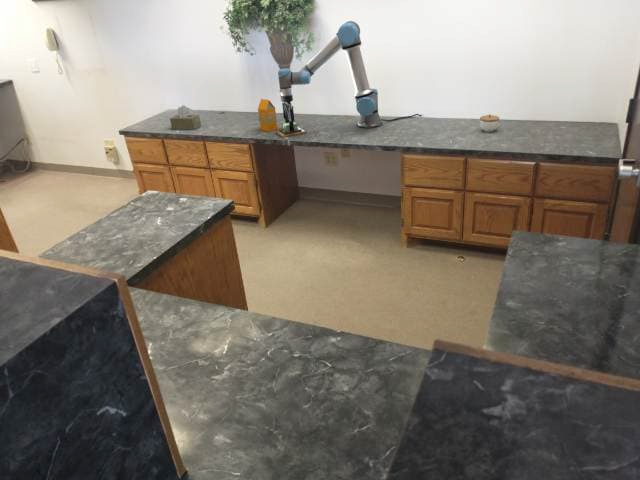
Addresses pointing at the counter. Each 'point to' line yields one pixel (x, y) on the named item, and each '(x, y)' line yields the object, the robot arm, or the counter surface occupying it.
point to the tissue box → (185, 120)
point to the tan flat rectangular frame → (289, 132)
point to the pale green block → (287, 128)
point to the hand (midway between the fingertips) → (290, 130)
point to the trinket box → (489, 122)
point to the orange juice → (267, 116)
